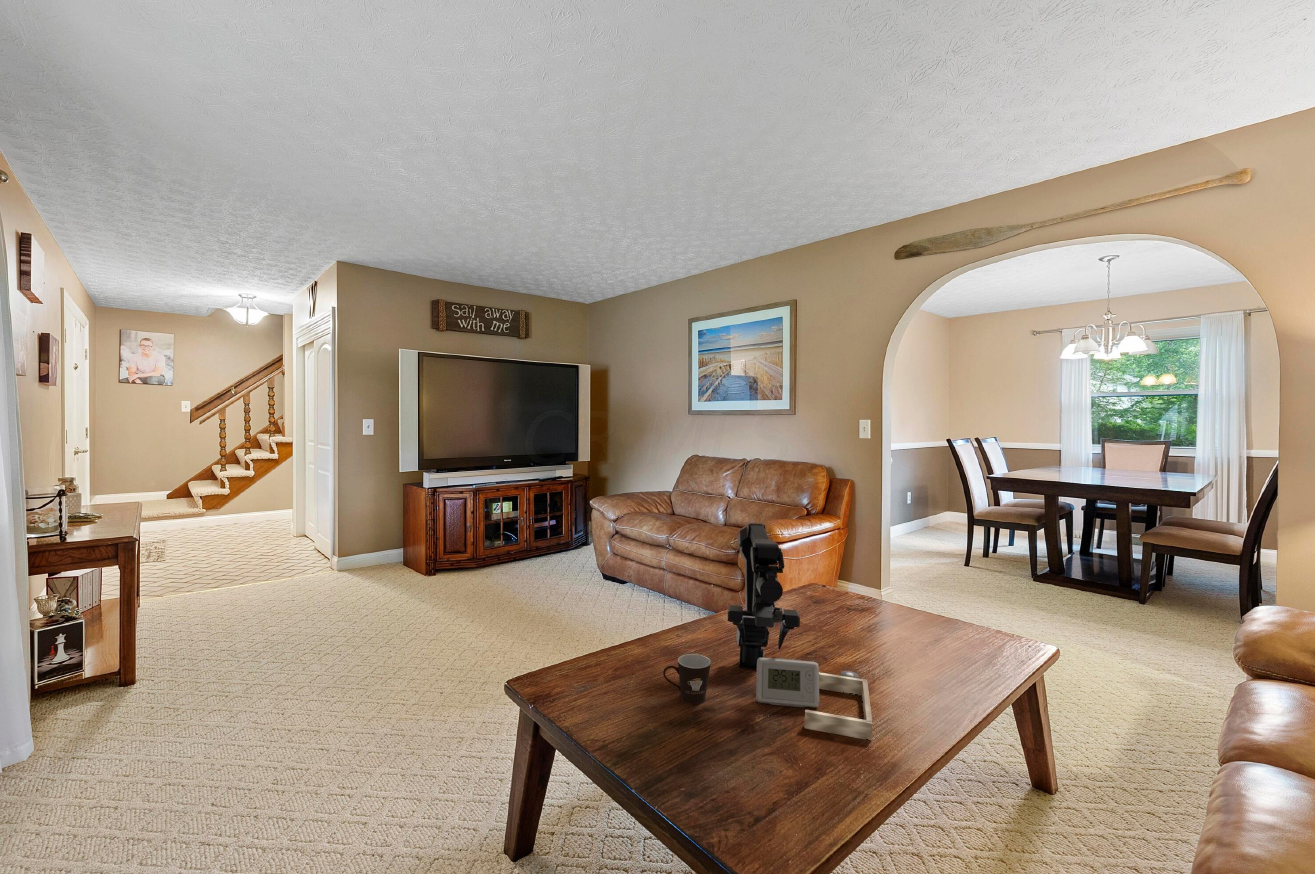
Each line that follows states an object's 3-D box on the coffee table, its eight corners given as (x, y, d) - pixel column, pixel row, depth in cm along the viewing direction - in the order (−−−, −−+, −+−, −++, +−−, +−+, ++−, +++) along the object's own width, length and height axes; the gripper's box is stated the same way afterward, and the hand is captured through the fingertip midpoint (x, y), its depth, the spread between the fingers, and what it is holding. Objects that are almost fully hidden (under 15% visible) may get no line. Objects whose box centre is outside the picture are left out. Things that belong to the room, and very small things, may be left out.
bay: (804, 728, 141) (805, 711, 141) (808, 684, 164) (809, 670, 163) (871, 740, 137) (872, 723, 137) (866, 694, 159) (867, 679, 159)
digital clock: (753, 703, 152) (754, 663, 152) (758, 688, 161) (759, 649, 160) (818, 715, 147) (820, 674, 147) (819, 699, 156) (821, 659, 155)
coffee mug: (712, 694, 156) (714, 657, 156) (704, 709, 148) (706, 670, 148) (671, 685, 160) (672, 649, 160) (660, 700, 152) (662, 662, 152)
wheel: (840, 684, 165) (840, 676, 165) (839, 676, 170) (840, 668, 170) (859, 687, 163) (859, 679, 163) (858, 679, 168) (858, 671, 168)
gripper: (728, 596, 150) (726, 656, 151) (803, 602, 148) (800, 663, 148) (728, 583, 161) (726, 640, 162) (798, 589, 159) (796, 645, 159)
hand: (761, 647), depth 157 cm, fingers open, 9 cm apart
